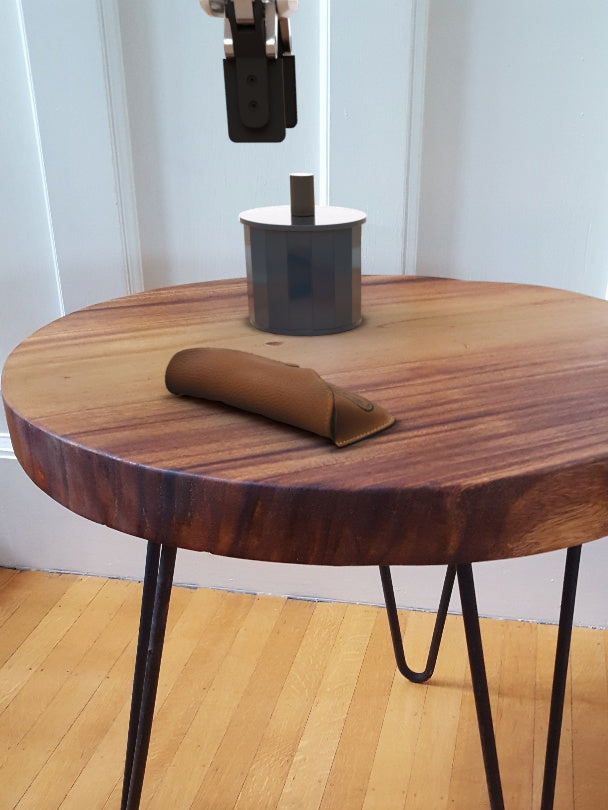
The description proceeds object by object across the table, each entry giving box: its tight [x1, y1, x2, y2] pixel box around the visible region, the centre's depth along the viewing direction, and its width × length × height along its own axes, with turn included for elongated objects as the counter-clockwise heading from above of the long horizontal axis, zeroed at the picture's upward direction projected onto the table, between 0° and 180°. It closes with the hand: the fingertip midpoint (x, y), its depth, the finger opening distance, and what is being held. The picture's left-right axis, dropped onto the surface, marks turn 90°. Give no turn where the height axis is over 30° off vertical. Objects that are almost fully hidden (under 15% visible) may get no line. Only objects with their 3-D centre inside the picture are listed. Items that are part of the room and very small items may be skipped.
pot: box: [242, 224, 363, 337], centre depth 95 cm, size 11×11×10 cm
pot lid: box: [238, 172, 368, 231], centre depth 92 cm, size 12×12×5 cm
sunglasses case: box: [164, 346, 397, 448], centre depth 74 cm, size 18×7×7 cm, turn 51°
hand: (265, 134), depth 58 cm, fingers open, 9 cm apart
